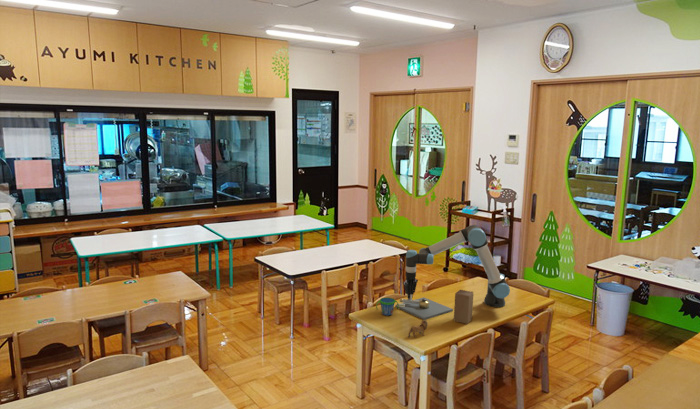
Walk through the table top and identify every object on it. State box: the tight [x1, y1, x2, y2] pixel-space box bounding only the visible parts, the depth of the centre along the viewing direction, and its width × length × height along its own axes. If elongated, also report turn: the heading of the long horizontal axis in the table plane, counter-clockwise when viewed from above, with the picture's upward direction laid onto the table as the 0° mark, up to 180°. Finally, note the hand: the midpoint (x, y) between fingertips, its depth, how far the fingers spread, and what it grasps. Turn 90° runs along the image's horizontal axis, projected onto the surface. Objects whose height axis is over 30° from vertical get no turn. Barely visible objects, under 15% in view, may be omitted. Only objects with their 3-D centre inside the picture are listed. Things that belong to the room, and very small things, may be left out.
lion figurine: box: [408, 319, 429, 338], centre depth 309 cm, size 15×5×9 cm, turn 122°
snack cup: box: [375, 297, 399, 316], centre depth 343 cm, size 16×10×10 cm
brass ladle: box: [398, 298, 429, 308], centre depth 355 cm, size 22×7×6 cm, turn 74°
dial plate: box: [394, 296, 454, 321], centre depth 354 cm, size 30×30×2 cm
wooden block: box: [453, 289, 474, 325], centre depth 333 cm, size 10×10×20 cm
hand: (409, 302), depth 359 cm, fingers closed
